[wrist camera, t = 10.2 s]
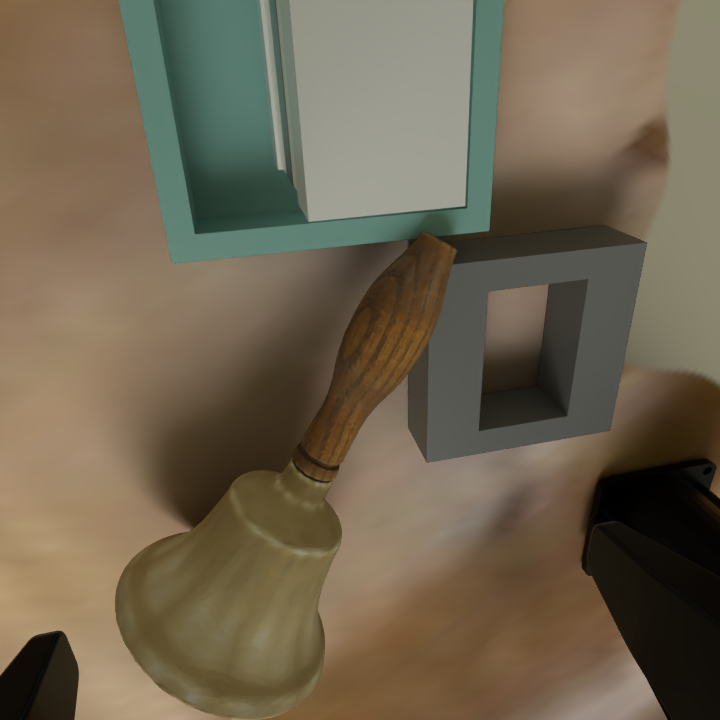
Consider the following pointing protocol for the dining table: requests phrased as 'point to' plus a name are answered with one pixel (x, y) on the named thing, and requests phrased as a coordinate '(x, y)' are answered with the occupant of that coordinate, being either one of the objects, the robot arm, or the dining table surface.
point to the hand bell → (276, 529)
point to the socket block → (559, 347)
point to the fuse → (368, 102)
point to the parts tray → (266, 136)
